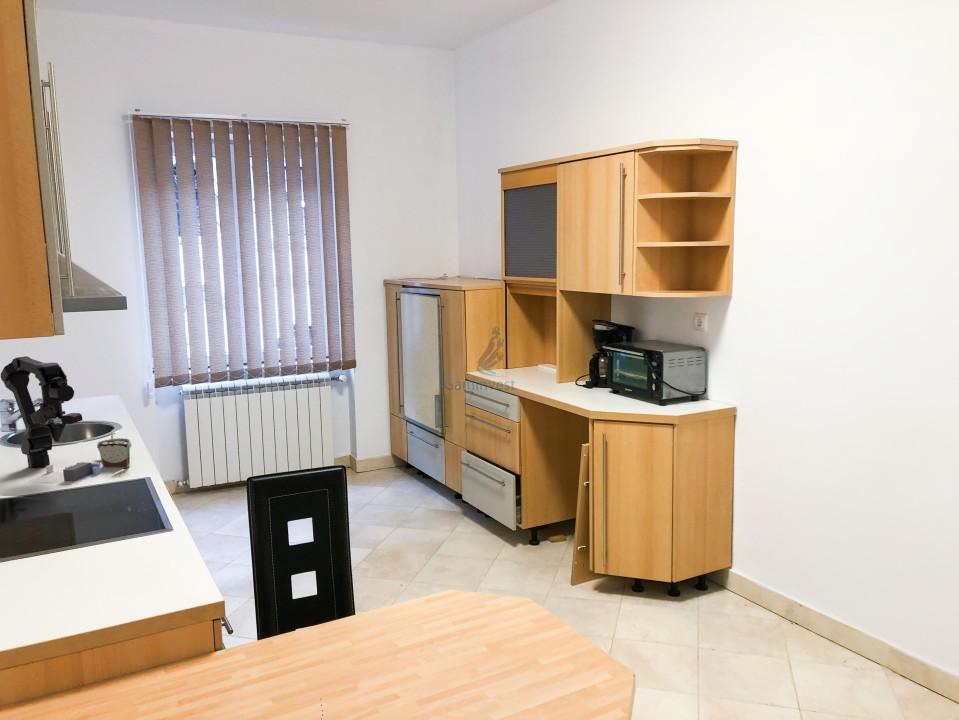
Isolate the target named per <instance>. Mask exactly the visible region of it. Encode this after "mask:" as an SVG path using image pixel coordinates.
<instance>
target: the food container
mask: <svg viewBox="0 0 959 720" xmlns="http://www.w3.org/2000/svg"><path fill="white" fill-rule="evenodd" d="M96 445H97V446H96V448H97V449H98V448H99V450H98V452H99V451H100V452H99V455H100V456H99V457H100V460H101V464H102V467H103V468H109V467H110V468H111V467H113V468H122V470H128V469H129V468H130V464H131V460H130V458H131V455H130V452H131V451H130V450H131V449H130V448H132V442H131V441H130V439H128V438H124V437H123V438H120V437H119V438H113V439H111V438H109V439H104V440H101V441H98V442H97V444H96Z"/></svg>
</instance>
